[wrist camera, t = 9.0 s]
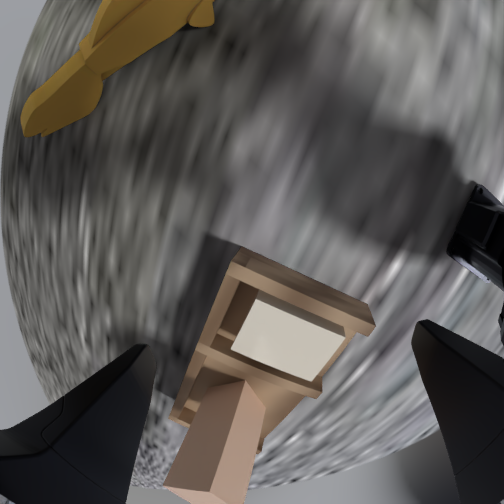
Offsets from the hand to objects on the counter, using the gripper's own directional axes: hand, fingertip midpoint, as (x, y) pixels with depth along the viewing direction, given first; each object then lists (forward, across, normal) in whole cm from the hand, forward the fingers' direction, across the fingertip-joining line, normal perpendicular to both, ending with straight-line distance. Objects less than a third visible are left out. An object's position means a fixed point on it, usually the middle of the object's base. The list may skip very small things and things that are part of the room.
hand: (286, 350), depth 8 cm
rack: (+12, +3, +13) cm, 18 cm away
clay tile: (+11, -1, +8) cm, 13 cm away
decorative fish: (+15, +9, -16) cm, 24 cm away
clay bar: (+11, +5, +16) cm, 20 cm away
